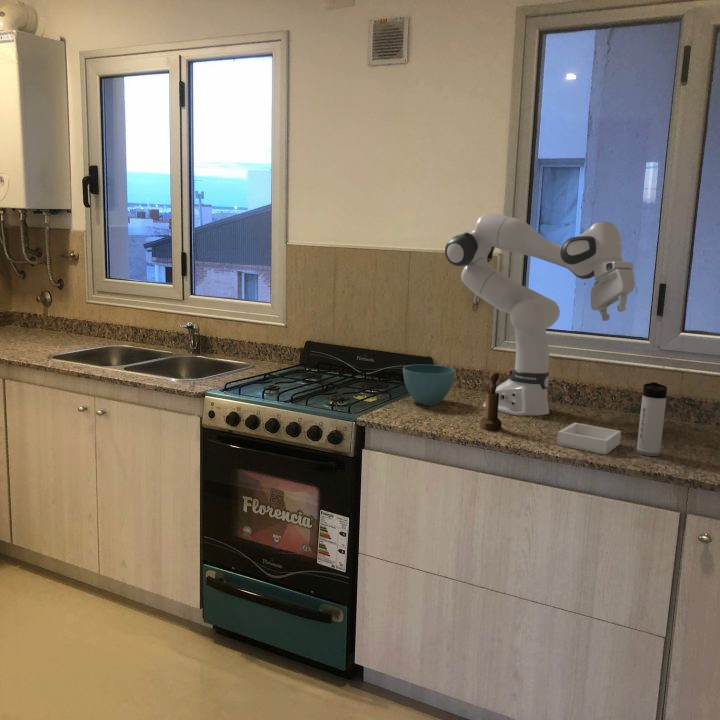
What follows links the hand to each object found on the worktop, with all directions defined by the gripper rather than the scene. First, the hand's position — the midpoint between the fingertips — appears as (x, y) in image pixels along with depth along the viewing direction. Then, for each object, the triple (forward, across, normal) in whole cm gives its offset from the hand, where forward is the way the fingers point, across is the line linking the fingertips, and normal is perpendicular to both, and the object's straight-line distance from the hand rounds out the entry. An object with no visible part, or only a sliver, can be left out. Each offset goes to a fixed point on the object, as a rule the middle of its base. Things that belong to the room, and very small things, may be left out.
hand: (613, 315), depth 223 cm
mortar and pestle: (+31, -22, -33) cm, 51 cm away
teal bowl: (+18, -53, -44) cm, 71 cm away
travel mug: (+42, +4, +4) cm, 43 cm away
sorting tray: (+38, -4, -10) cm, 40 cm away
